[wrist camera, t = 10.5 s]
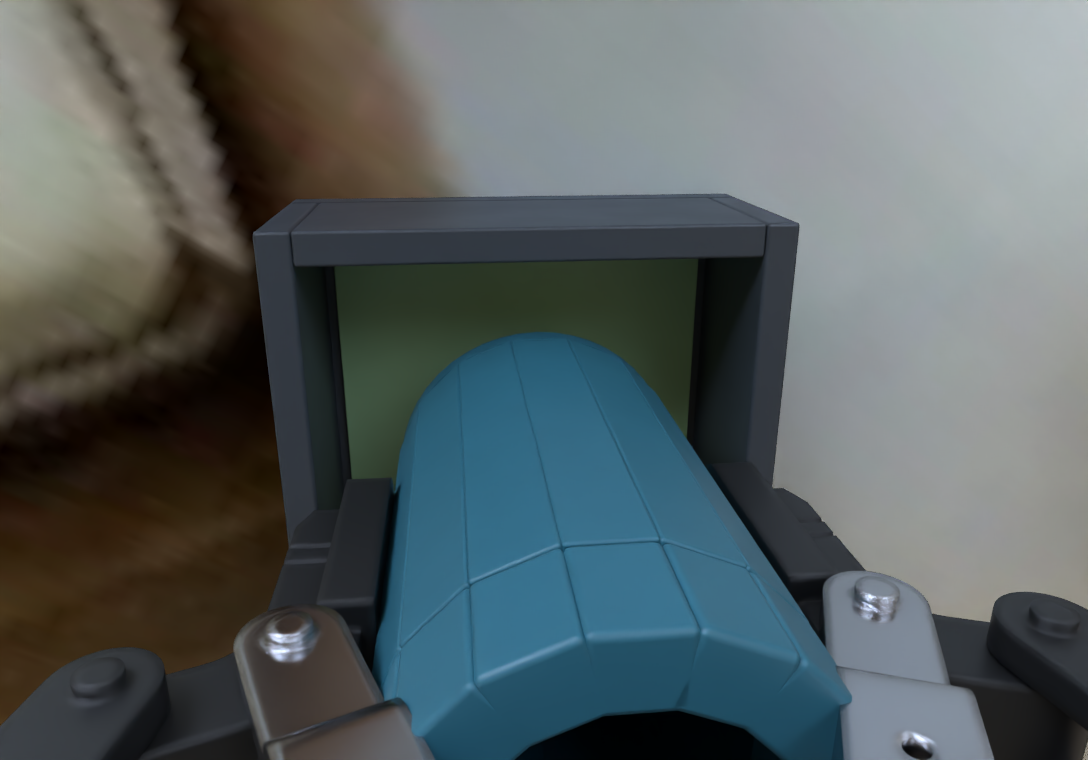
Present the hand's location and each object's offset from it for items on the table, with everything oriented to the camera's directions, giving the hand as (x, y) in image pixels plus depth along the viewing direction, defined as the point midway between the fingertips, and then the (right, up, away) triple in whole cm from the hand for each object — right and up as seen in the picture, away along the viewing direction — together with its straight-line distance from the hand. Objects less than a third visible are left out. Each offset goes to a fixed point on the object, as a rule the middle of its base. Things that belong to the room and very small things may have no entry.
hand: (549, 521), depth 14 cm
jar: (0, +1, +2) cm, 2 cm away
